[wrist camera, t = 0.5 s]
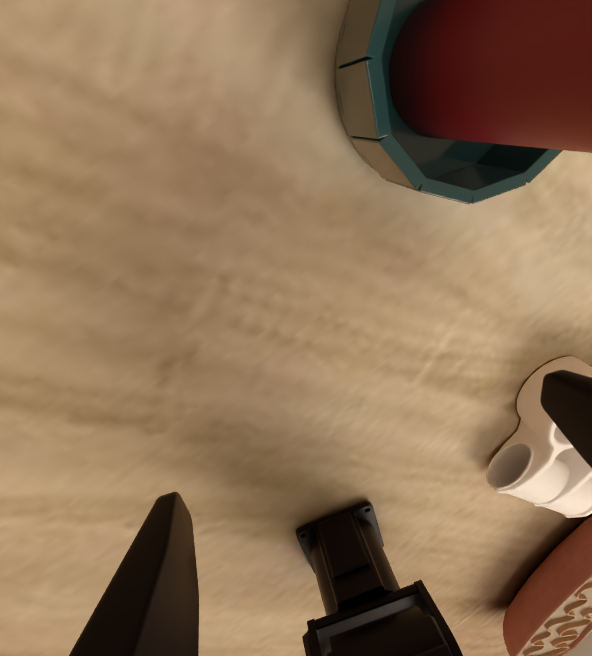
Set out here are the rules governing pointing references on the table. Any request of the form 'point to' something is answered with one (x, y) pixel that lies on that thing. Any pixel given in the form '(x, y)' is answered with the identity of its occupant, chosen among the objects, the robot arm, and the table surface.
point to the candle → (497, 72)
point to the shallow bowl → (399, 139)
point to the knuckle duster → (543, 453)
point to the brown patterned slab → (554, 601)
